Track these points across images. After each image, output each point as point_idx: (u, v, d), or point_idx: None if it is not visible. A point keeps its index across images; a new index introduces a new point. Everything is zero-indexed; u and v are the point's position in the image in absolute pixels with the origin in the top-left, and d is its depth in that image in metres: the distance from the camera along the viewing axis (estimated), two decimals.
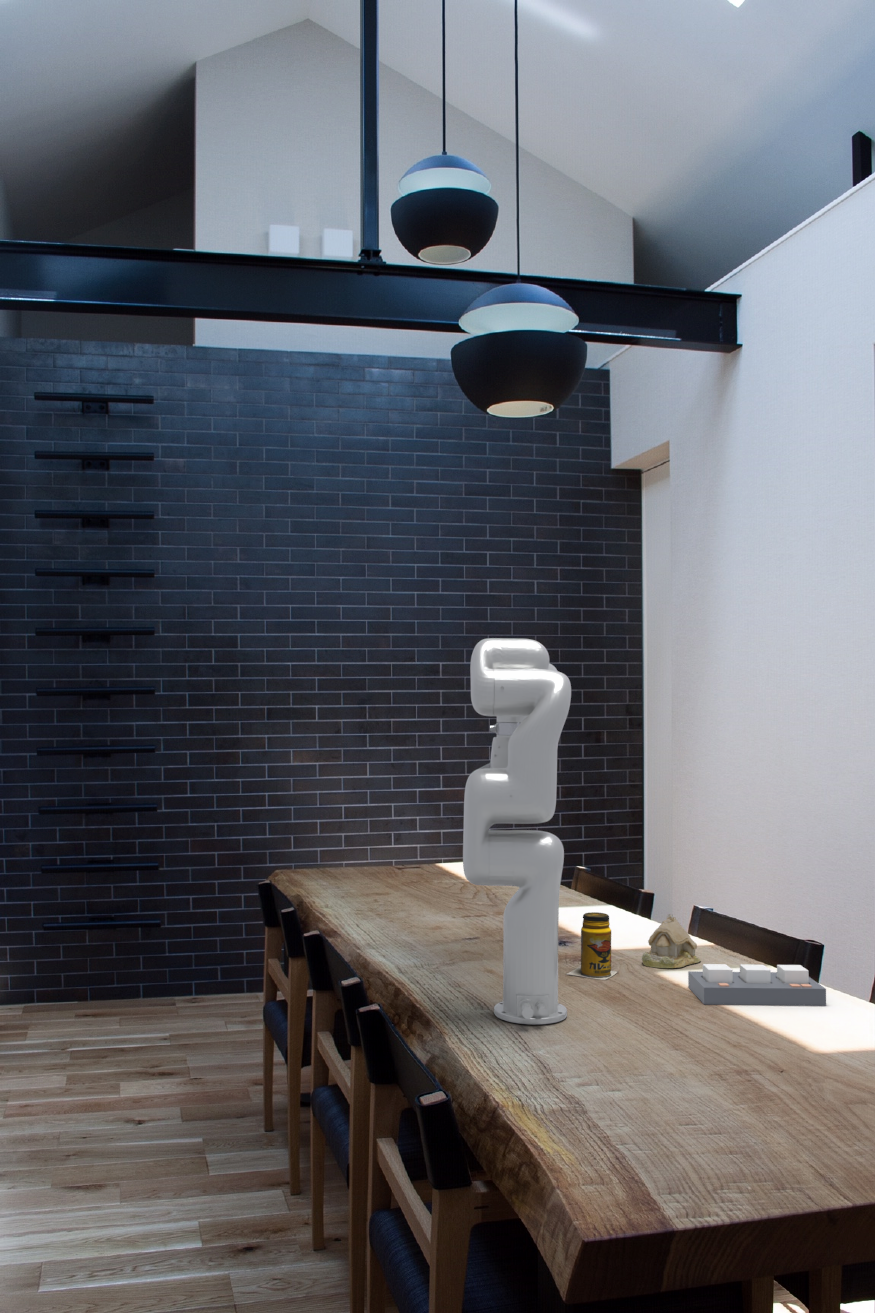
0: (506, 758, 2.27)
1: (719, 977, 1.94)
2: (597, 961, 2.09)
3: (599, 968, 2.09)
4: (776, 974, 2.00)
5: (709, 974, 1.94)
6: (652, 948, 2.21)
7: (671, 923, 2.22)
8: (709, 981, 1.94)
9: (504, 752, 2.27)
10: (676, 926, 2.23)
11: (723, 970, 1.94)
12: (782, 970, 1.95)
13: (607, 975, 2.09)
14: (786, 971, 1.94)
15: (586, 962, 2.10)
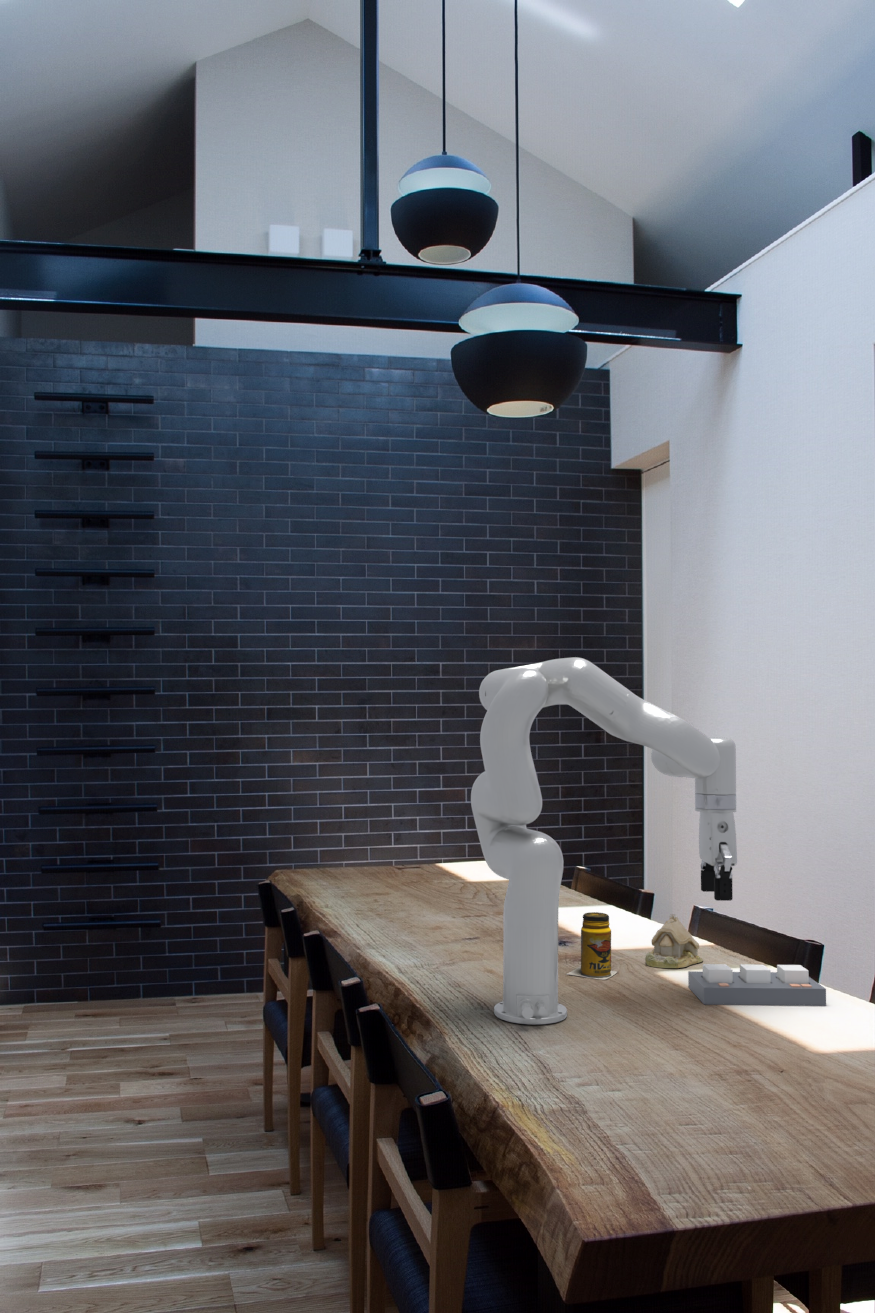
0: None
1: (719, 977, 1.94)
2: (597, 961, 2.09)
3: (599, 968, 2.09)
4: (776, 974, 2.00)
5: (709, 974, 1.94)
6: (655, 948, 2.21)
7: (674, 923, 2.22)
8: (709, 981, 1.94)
9: None
10: (679, 926, 2.23)
11: (723, 970, 1.94)
12: (782, 970, 1.95)
13: (607, 975, 2.09)
14: (786, 971, 1.94)
15: (586, 962, 2.10)
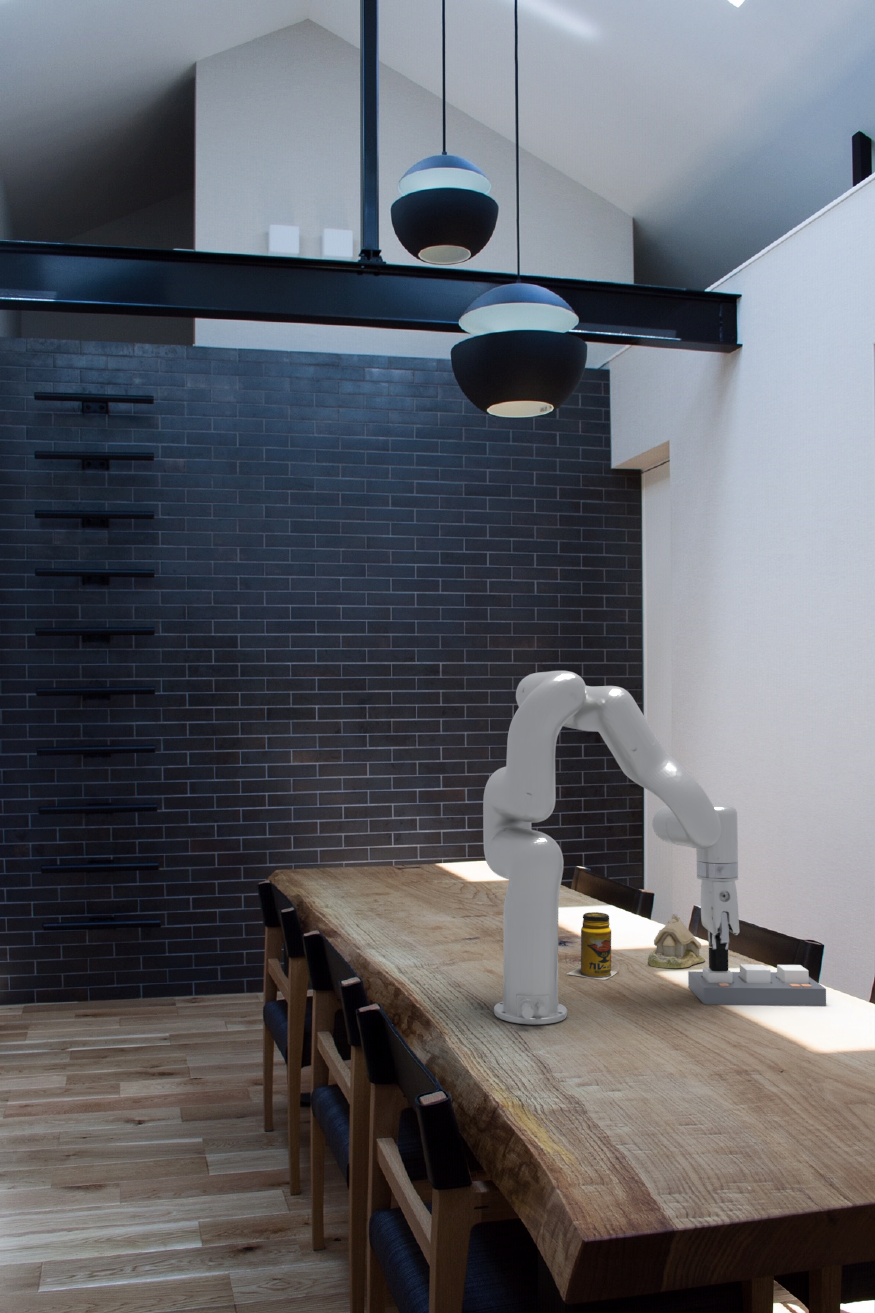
0: None
1: (719, 981, 1.94)
2: (597, 961, 2.09)
3: (599, 968, 2.09)
4: (776, 974, 2.00)
5: (709, 977, 1.94)
6: (658, 948, 2.21)
7: (676, 923, 2.22)
8: None
9: None
10: (681, 926, 2.23)
11: (723, 973, 1.94)
12: (782, 970, 1.95)
13: (607, 975, 2.09)
14: (786, 971, 1.94)
15: (586, 962, 2.10)
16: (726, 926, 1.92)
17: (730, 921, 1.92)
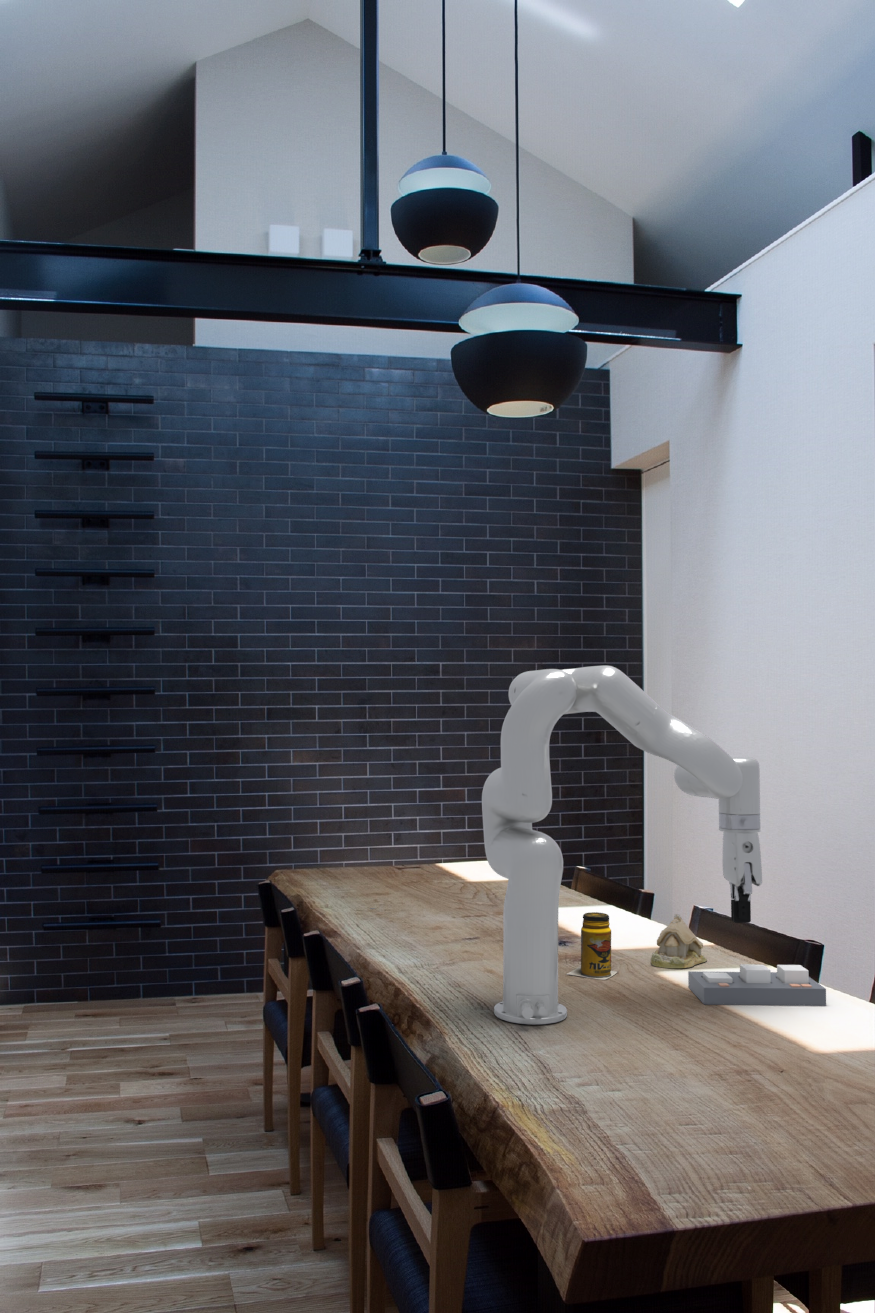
0: None
1: None
2: (597, 961, 2.09)
3: (599, 968, 2.09)
4: (776, 974, 2.00)
5: (709, 982, 1.94)
6: (661, 948, 2.21)
7: (679, 923, 2.22)
8: None
9: None
10: (683, 926, 2.23)
11: (723, 978, 1.94)
12: (782, 970, 1.95)
13: (607, 975, 2.09)
14: (786, 971, 1.94)
15: (586, 962, 2.10)
16: (749, 877, 1.93)
17: (753, 872, 1.92)
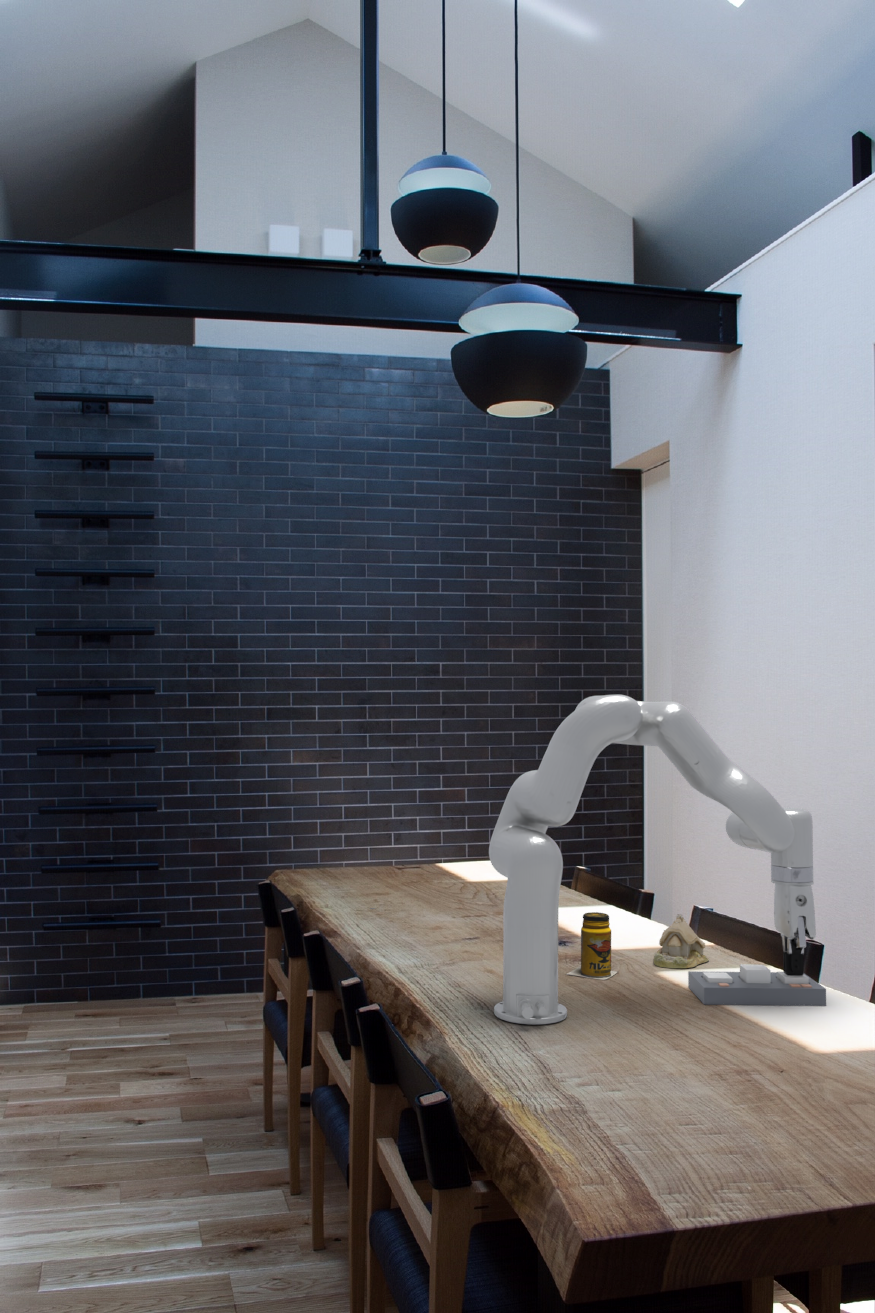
0: None
1: None
2: (597, 961, 2.09)
3: (599, 968, 2.09)
4: (776, 974, 2.00)
5: (709, 982, 1.94)
6: (663, 948, 2.21)
7: (681, 923, 2.22)
8: None
9: None
10: (686, 926, 2.23)
11: (723, 978, 1.94)
12: (782, 977, 1.95)
13: (607, 975, 2.09)
14: (786, 978, 1.94)
15: (586, 962, 2.10)
16: (803, 930, 1.92)
17: (807, 925, 1.92)
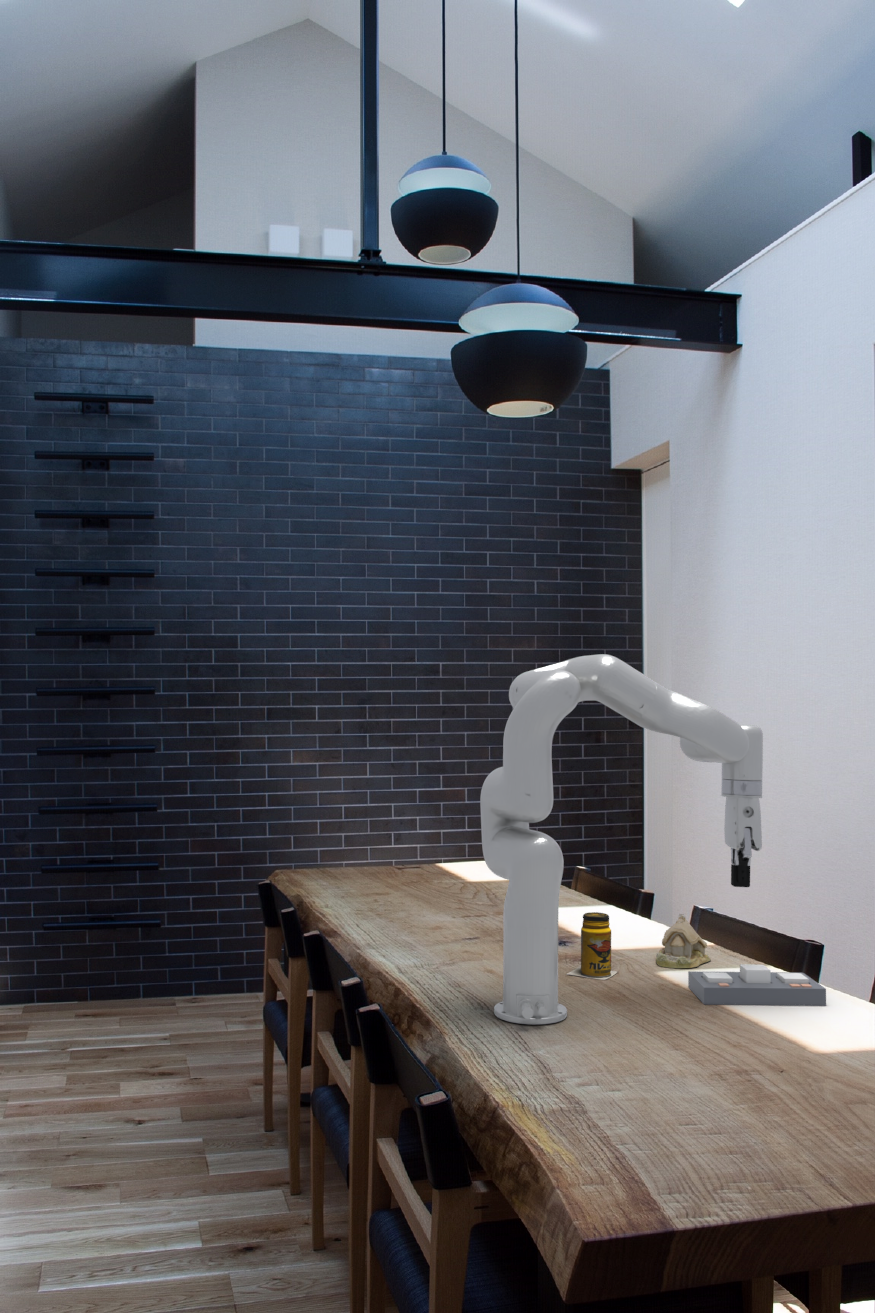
0: None
1: None
2: (597, 961, 2.09)
3: (599, 968, 2.09)
4: (776, 974, 2.00)
5: (709, 982, 1.94)
6: (666, 948, 2.21)
7: (684, 923, 2.22)
8: None
9: None
10: (688, 926, 2.23)
11: (723, 978, 1.94)
12: (782, 978, 1.95)
13: (607, 975, 2.09)
14: (786, 979, 1.94)
15: (586, 962, 2.10)
16: (749, 841, 1.96)
17: (753, 836, 1.96)
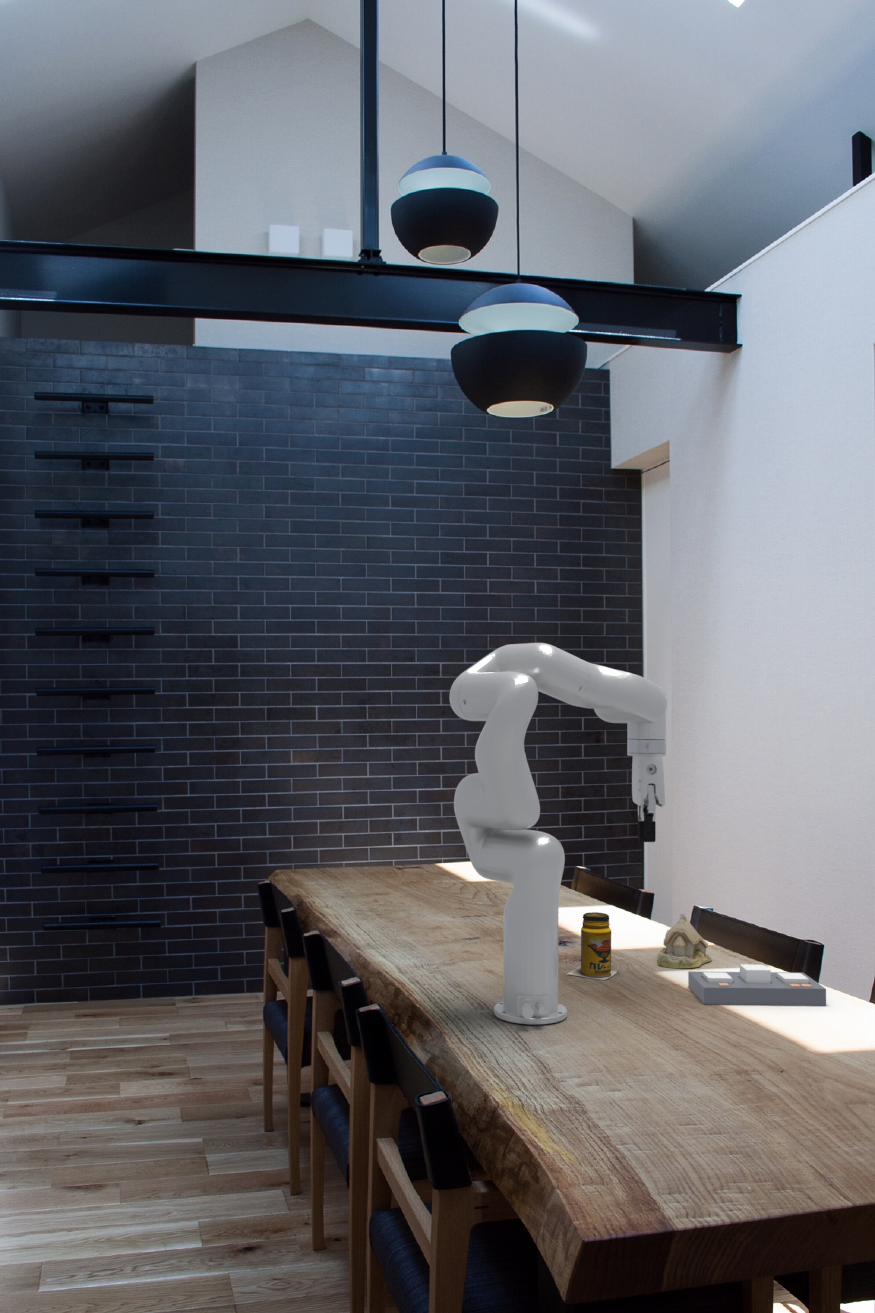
0: None
1: None
2: (597, 961, 2.09)
3: (599, 968, 2.09)
4: (776, 974, 2.00)
5: (709, 982, 1.94)
6: (668, 948, 2.21)
7: (685, 923, 2.22)
8: None
9: None
10: (689, 926, 2.23)
11: (723, 978, 1.94)
12: (782, 978, 1.95)
13: (607, 975, 2.09)
14: (786, 979, 1.94)
15: (586, 962, 2.10)
16: (652, 797, 2.04)
17: (656, 792, 2.04)
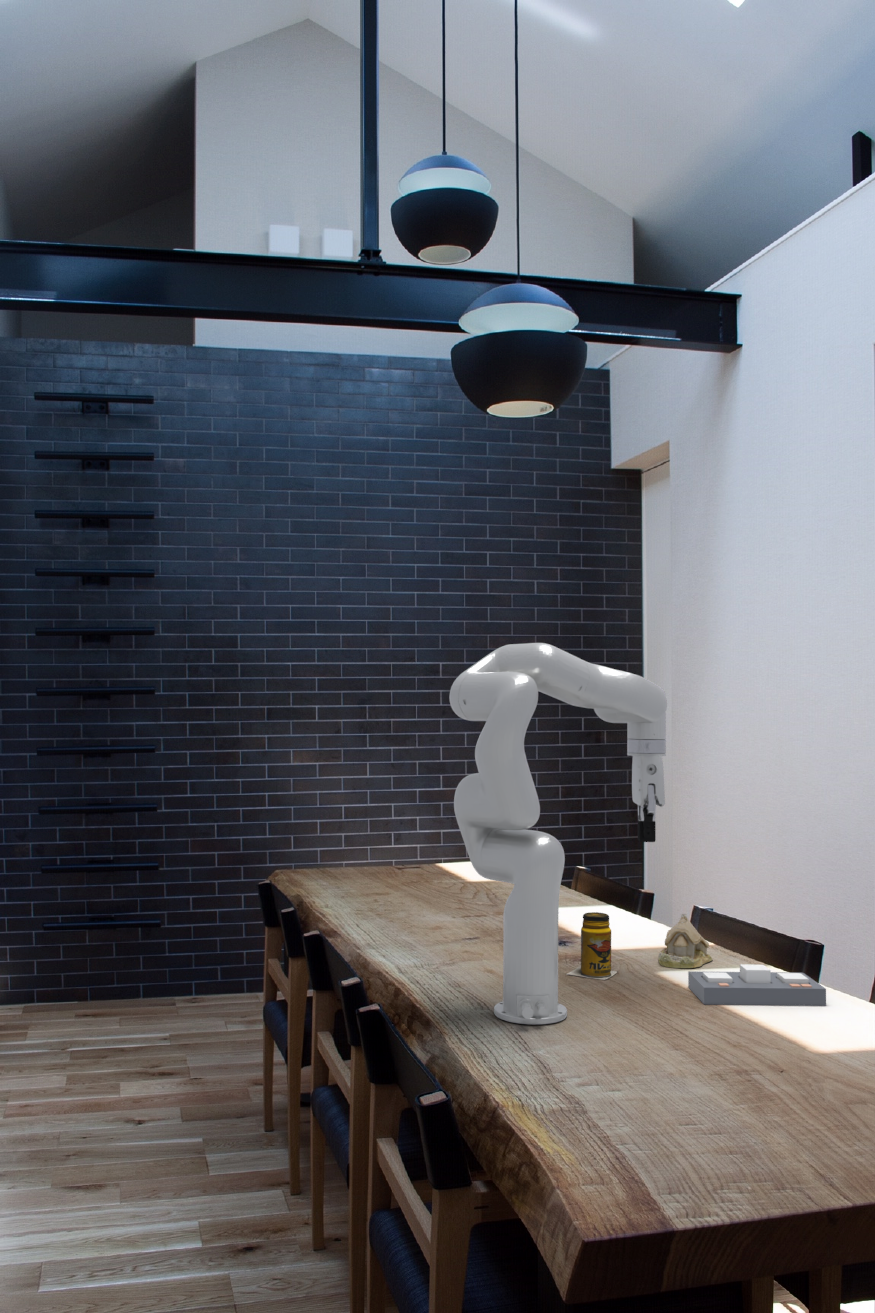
0: None
1: None
2: (597, 961, 2.09)
3: (599, 968, 2.09)
4: (776, 974, 2.00)
5: (709, 982, 1.94)
6: (669, 948, 2.21)
7: (686, 923, 2.22)
8: None
9: None
10: (690, 926, 2.23)
11: (723, 978, 1.94)
12: (782, 978, 1.95)
13: (607, 975, 2.09)
14: (786, 979, 1.94)
15: (586, 962, 2.10)
16: (652, 797, 2.04)
17: (656, 792, 2.04)
